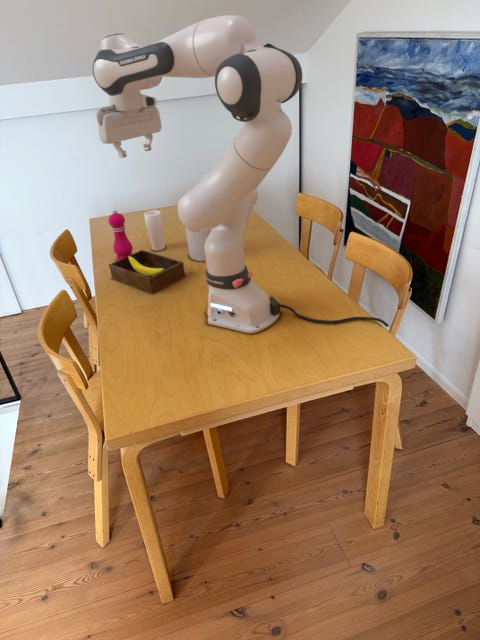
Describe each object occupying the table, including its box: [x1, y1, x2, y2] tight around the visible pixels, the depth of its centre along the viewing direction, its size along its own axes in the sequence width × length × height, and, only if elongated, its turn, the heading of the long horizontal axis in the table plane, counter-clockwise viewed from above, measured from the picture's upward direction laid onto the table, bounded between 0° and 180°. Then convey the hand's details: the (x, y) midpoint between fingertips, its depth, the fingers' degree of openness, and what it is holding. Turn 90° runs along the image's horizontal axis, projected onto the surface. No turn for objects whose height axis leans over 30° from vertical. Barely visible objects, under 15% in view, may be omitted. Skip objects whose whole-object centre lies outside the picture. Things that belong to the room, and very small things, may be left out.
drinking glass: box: [143, 210, 166, 252], centre depth 182 cm, size 7×7×15 cm
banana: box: [127, 255, 164, 276], centre depth 162 cm, size 3×19×6 cm, turn 52°
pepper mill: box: [108, 209, 134, 261], centre depth 175 cm, size 7×7×20 cm
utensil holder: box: [184, 226, 212, 262], centre depth 173 cm, size 15×15×18 cm
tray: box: [108, 249, 186, 295], centre depth 163 cm, size 22×15×6 cm
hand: (135, 153), depth 135 cm, fingers open, 8 cm apart
